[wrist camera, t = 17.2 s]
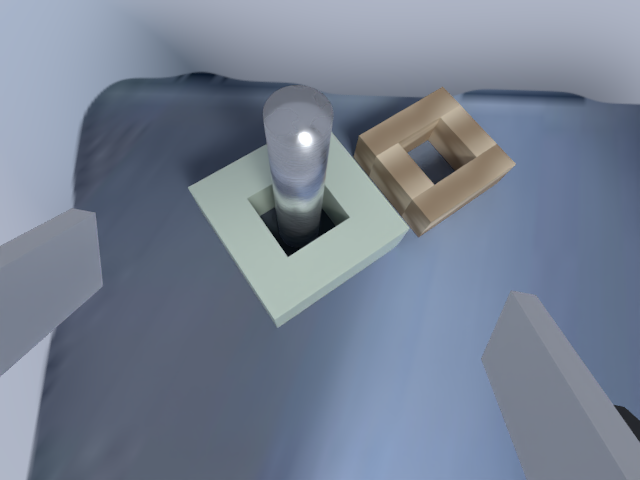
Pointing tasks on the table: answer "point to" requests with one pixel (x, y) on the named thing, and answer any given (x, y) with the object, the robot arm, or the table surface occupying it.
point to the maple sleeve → (450, 141)
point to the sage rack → (315, 258)
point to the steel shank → (298, 159)
